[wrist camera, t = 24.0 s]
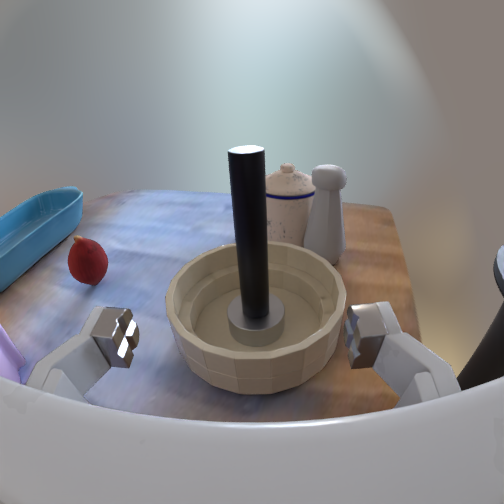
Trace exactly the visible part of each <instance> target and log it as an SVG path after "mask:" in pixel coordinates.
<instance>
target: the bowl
mask: <svg viewBox="0 0 504 504" xmlns="http://www.w3.org/2000/svg"><path fill="white" fill-rule="evenodd" d="M268 272H269V293H271V294H273V295H275V296H277V297H278V298H279V299H280V300H281V301H282V303H283V304H284V307H285V324H284V331H283V333H282V335H281V336H280V337H279V338H278V339H277V340H276V341H275V342H273V343H271V344H269V345H266V346H261V347H251V346H246V345H243V344H241V343H239V342H238V341H236V340H235V339H234V338H233V337H232V335H231V333H230V330H229V323H228V317H227V309H228V306H229V304H230V302H231V301H232V300H233V299H234V298H236V297H237V296H239V295H241V292H240V282H239V272H238V262H237V251H236V243H232V244H227V245H223V246H220V247H217V248H214V249H212V250H209V251H207V252H204V253H202V254H200V255H199V256H197V257H196V258H194V259H193V260H191V261H190V262H188V263H187V264H185V265H184V266H183V267H182V268H181V270H180V271H179V272H178V273H177V274H176V275H175V276H174V278H173V279H172V280H171V283H170V285H169V288H168V291H167V293H166V296H165V300H166V310H167V317H168V320H169V323H170V326H171V329H172V332H173V335H174V338H175V340H176V343H177V346H178V349H179V352H180V354H181V355H182V357H183V359H184V360H185V362H186V363H187V365H188V366H189V368H190V369H191V371H192V372H194V373H195V374H197V375H198V376H199V377H201V378H202V379H204V380H205V381H206V382H208V383H209V384H211V385H212V386H215V387H218V388H221V389H225V390H228V391H231V392H235V393H238V394H273V393H277V392H280V391H283V390H286V389H289V388H293V387H296V386H299V385H301V384H302V383H304V382H305V381H307V380H308V379H310V378H311V377H312V376H314V375H315V374H317V373H318V372H319V371H321V370H322V369H323V368H324V366H325V365H326V363H327V362H328V360H329V359H330V357H331V356H332V354H333V353H334V351H335V349H336V345H337V340H338V336H339V331H340V327H341V322H342V318H343V313H344V307H345V300H346V290H345V287H344V284H343V281H342V278H341V275H340V274H339V273H338V272H337V270H336V269H335V268H334V267H333V266H332V265H331V264H330V263H329V261H327V260H326V259H324V258H323V257H321V256H319V255H318V254H316V253H314V252H313V251H311V250H309V249H306V248H303V247H300V246H297V245H294V244H290V243H284V242H276V241H269V240H268Z"/></svg>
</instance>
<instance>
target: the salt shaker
mask: <svg viewBox="0 0 504 504" xmlns="http://www.w3.org/2000/svg"><path fill="white" fill-rule="evenodd" d="M346 180H347V178H346V172H345V171H344V170H343V169H342V168H341V167H338V166H334V165H321V166H317V167H315V168H314V169H313V171H312V184H313V185H314V186H315V187H316V189H315V194H314V198H313V202H312V207H311V211H310V215H309V220H308V224H307V228H306V232H305V236H304V248H306V249H309V250H311V251H313V252H314V253H316V254H318V255H319V256H321V257H323V258H324V259H326V260H327V261H329V263H330V264H331V265H333V264H336V263H337V261H338V259H339V258H340V256H341V255H342V253H343V252H344V250H345V248H346V242H345V231H344V220H343V208H342V198H341V189H342V188H344V187H345V185H346Z"/></svg>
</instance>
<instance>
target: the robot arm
mask: <svg viewBox="0 0 504 504" xmlns="http://www.w3.org/2000/svg"><path fill="white" fill-rule="evenodd" d="M347 315H348V319H347V320H346V321H345V324H344V342H345V346H346V347H348V348H349V352H348V358H349V363H350V367H351V369H360V368H370V367H373V369H374V370H375V371H376V372H377V374H378V375H379V376H380V377H381V378H382V379H383V380H384V381H385V382H386V383H387V384H388V385H389V386H390V387H391V388H392V389H393V390H394V391H395V392H396V393H397V395H398V396H399V397H400V400H399V401H398V403H397V404H396V406H395V407H394V409H390V410H385V411H379V412H373V413H367V414H361V415H354V416H346V417H338V418H329V419H319V420H306V421H290V422H215V421H198V420H186V419H176V418H167V417H158V416H151V415H144V414H138V413H132V412H126V411H120V410H115V409H110V408H105V407H100V406H96V405H91V404H89V402H88V401H87V400H86V399H85V398H84V397H83V396H84V395H85V394H86V393H87V391H88V390H89V389H90V388H91V387H92V386H93V385H94V384H95V383H96V382H97V381H98V380H99V379H100V378H101V377H102V376H103V375H104V374H105V373H106V372H107V371H108V370H109V369H110V368H111V367H119V368H129V367H130V365H131V362H132V359H133V356H134V355H133V352H132V350H133V349H135V348H136V347H137V345H138V342H139V329H138V326H137V324H136V323H135V322H134V321H132V320H131V319H132V317H133V315H132V312H131V310H130V309H127V308H115V307H99V306H96V307H95V308H93V310H92V312H91V313H90V315H89V317H88V319H87V320H86V322H85V324H84V326H83V328H82V330H81V332H80V333H79V335H77V334H76V335H74V336H73V337H72V338H70V339H69V340H67V341H66V342H65V343H63V344H62V345H60V346H59V347H58V348H56V349H55V350H54V351H52V352H51V353H49V354H48V355H47V356H45V357H44V358H43V359H41V360H40V361H38V362H37V363H36V365H35V367H34V369H33V371H32V373H31V375H30V377H29V379H28V381H27V383H26V385H23V384H20V383H17V382H15V381H12V380H9V379H7V378H4V377H2V376H0V504H504V376H503V377H501V378H498V379H496V380H493V381H490V382H488V383H485V384H482V385H479V386H476V387H474V388H471V389H467V390H464V391H461V389H460V386H459V384H458V381H457V379H456V377H455V375H454V372H453V370H452V368H451V365H450V364H448V363H447V362H446V361H444V360H443V359H442V358H440V357H439V356H438V355H436V354H435V353H434V352H432V351H431V350H429V349H428V348H427V347H425V346H424V345H423V344H421V343H420V342H419V341H417V340H416V339H414V338H413V337H412V336H410V335H409V334H408V333H403V332H402V330H401V328H400V325H399V323H398V321H397V319H396V316H395V314H394V312H393V310H392V308H391V305H390V303H389V302H377V303H367V304H355V305H349V307H348V310H347Z"/></svg>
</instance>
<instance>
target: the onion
mask: <svg viewBox="0 0 504 504" xmlns="http://www.w3.org/2000/svg"><path fill="white" fill-rule="evenodd" d="M74 240H75V243H74V244H73V246H72V247H71V249H70V253H69V256H68V266H69V270H70V273H71V274H72V276H73V277H74V278H75V279H76V280H78V281H79V282H81V283H85V284H89V285H97V284H98V283H99V282H100V281H101V280H102V278H103V277H104V276H105V274H106V271H107V268H108V258H107V255H106V253H105V251H104V250H103V248H102V247H101V246H100V245H99V244H98V243H97V242H95V241H93V240H90V239H85V238H82V237H80V236H79V235H76V236H74Z"/></svg>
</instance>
